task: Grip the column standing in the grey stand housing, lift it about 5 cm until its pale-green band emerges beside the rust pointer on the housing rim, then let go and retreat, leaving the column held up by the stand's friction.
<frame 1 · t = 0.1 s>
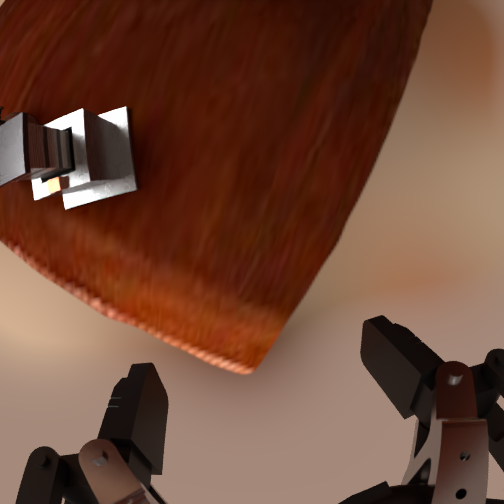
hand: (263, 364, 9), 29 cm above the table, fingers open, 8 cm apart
column: (57, 155, 22), point 11 cm above the table, slide at 0.0 cm
stand: (94, 158, 32), on the table
brown piece: (19, 140, 28), on the table
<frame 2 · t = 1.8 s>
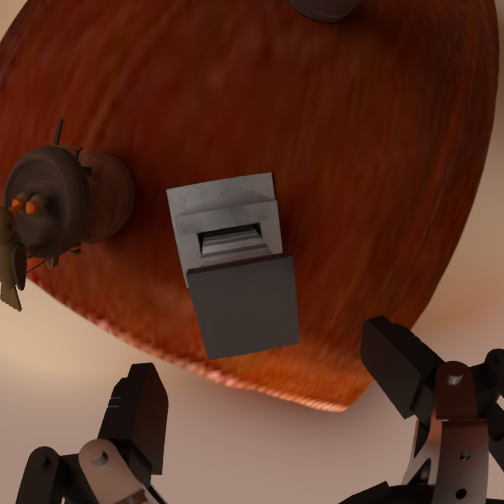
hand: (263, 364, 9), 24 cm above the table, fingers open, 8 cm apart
column: (233, 256, 22), point 11 cm above the table, slide at 0.0 cm
stand: (226, 230, 32), on the table
brown piece: (97, 189, 28), on the table
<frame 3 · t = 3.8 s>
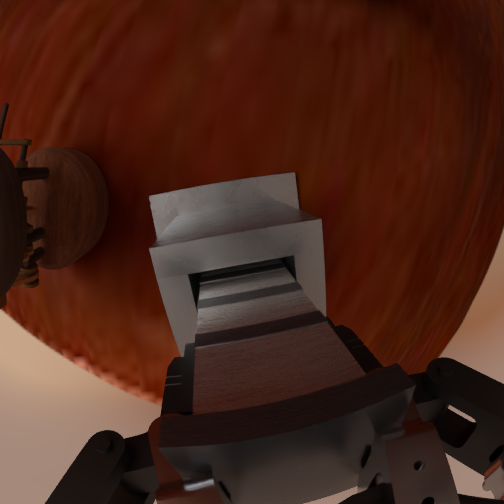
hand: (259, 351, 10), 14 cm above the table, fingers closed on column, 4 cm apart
column: (248, 308, 14), point 11 cm above the table, slide at 0.0 cm, touching gripper
stand: (232, 251, 24), on the table
brown piece: (62, 196, 20), on the table
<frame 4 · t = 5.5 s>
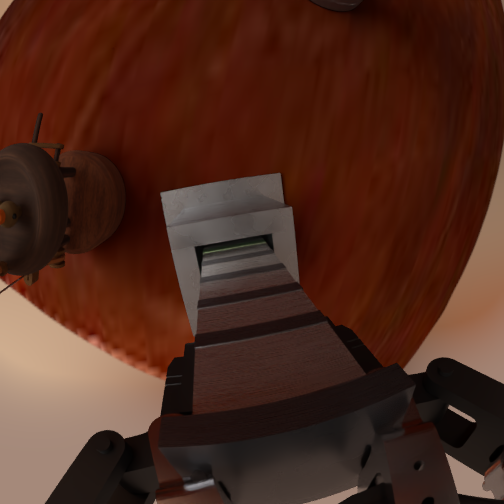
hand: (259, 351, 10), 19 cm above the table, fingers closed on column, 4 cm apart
column: (248, 308, 14), point 16 cm above the table, slide at 4.9 cm, touching gripper
stand: (229, 238, 28), on the table
brown piece: (84, 192, 25), on the table
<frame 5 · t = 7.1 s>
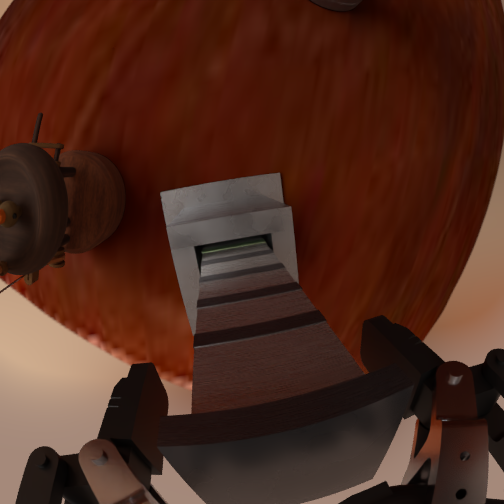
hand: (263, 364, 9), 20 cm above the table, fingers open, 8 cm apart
column: (247, 307, 14), point 16 cm above the table, slide at 5.0 cm
stand: (228, 238, 28), on the table
brown piece: (84, 192, 25), on the table
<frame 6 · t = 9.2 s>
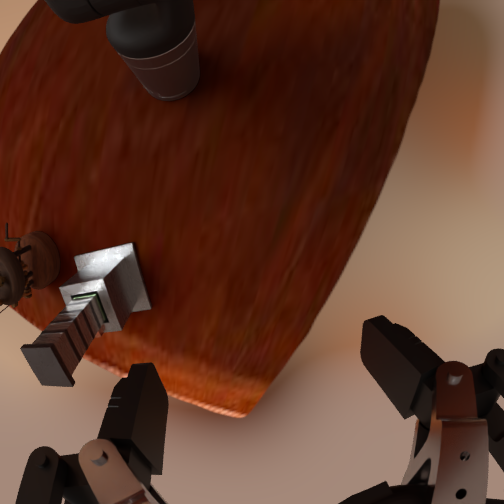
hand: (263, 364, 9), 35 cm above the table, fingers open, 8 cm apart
column: (76, 324, 28), point 16 cm above the table, slide at 5.0 cm
stand: (112, 281, 43), on the table
brown piece: (40, 253, 40), on the table
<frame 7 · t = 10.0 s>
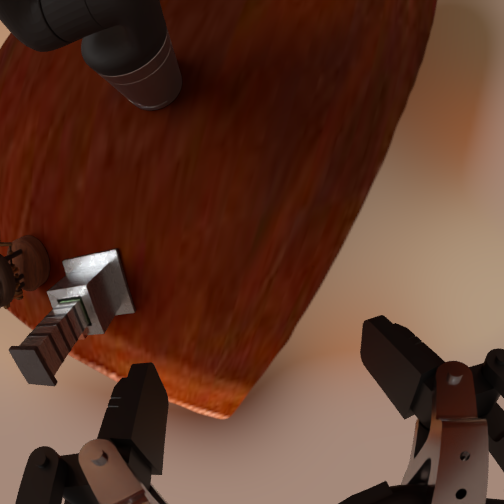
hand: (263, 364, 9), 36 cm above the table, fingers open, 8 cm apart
column: (61, 327, 29), point 16 cm above the table, slide at 5.0 cm
stand: (98, 285, 44), on the table
brown piece: (31, 257, 40), on the table
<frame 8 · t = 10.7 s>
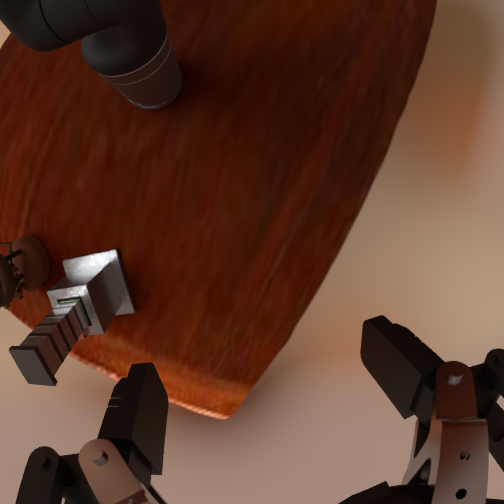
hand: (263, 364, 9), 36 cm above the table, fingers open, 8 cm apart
column: (61, 327, 29), point 16 cm above the table, slide at 5.0 cm
stand: (98, 285, 44), on the table
brown piece: (31, 257, 40), on the table
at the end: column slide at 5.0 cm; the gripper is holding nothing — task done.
